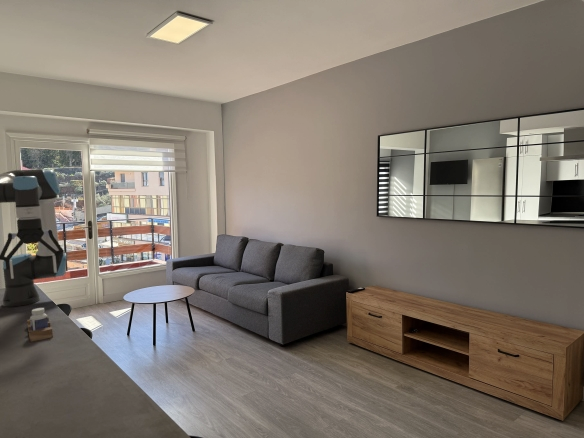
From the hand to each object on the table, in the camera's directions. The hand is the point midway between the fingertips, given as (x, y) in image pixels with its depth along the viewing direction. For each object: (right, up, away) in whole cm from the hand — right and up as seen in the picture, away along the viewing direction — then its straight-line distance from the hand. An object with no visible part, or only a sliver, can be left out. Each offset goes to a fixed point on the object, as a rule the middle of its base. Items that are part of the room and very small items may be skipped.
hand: (34, 275), depth 151 cm
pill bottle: (+3, -22, -1) cm, 23 cm away
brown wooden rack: (0, -22, +3) cm, 22 cm away
